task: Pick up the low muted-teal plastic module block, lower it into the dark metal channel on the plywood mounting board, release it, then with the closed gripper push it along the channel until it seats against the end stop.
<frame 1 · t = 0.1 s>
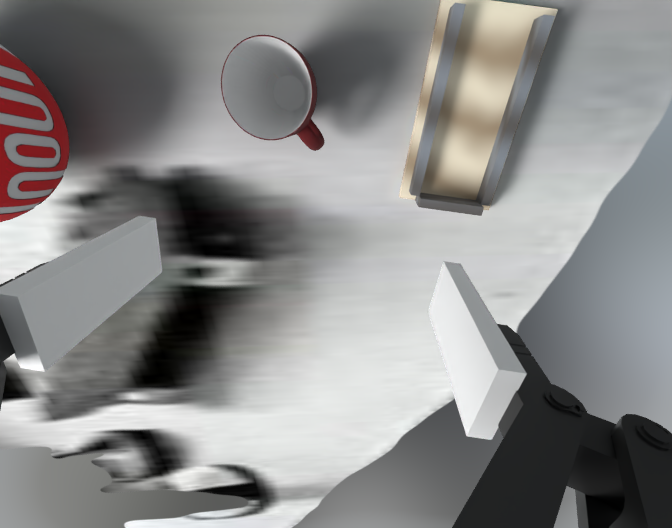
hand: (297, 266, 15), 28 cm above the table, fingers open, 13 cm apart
mug: (298, 102, 38), on the table
rail mount: (466, 115, 37), on the table
decorative sphere: (31, 119, 41), on the table
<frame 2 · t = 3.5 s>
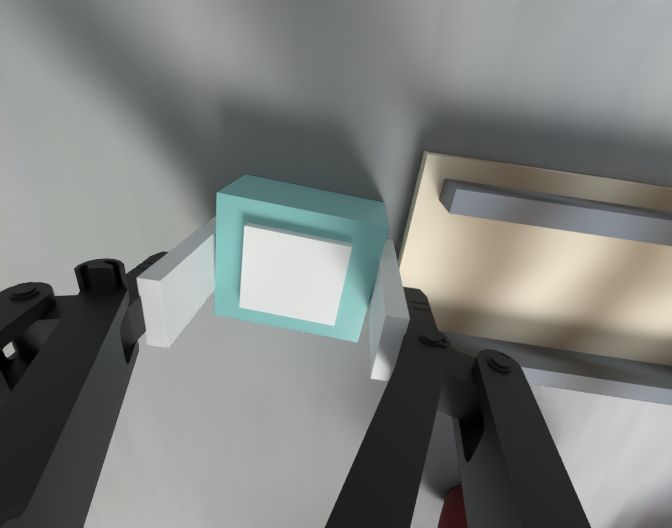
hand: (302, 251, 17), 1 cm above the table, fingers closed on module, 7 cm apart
module: (306, 243, 18), on the table, touching gripper
mug: (483, 489, 26), on the table
rail mount: (583, 285, 17), on the table
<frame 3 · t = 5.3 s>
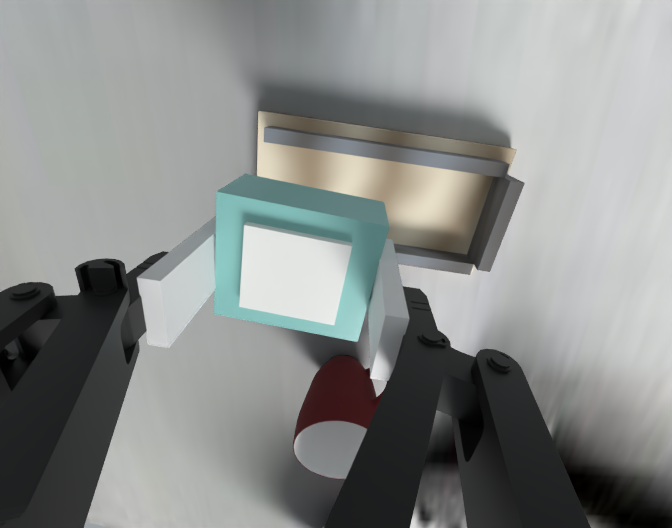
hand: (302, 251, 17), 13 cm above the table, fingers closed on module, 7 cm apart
module: (306, 242, 18), point 12 cm above the table, touching gripper
mug: (351, 361, 37), on the table
rail mount: (373, 197, 28), on the table
when the fingers open (3 cm above the table, at t = 7.5 s): module stays where it is, resting on rail mount.
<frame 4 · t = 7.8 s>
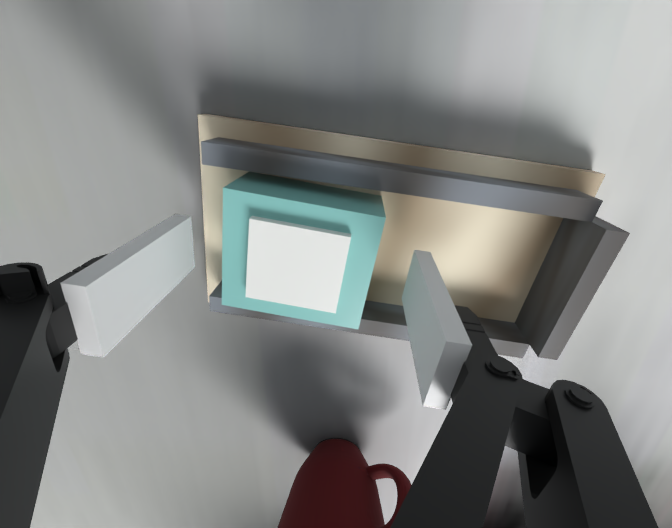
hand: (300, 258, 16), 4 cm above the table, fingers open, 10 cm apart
module: (308, 236, 18), point 1 cm above the table, touching rail mount
mug: (348, 444, 28), on the table
rail mount: (378, 240, 19), on the table
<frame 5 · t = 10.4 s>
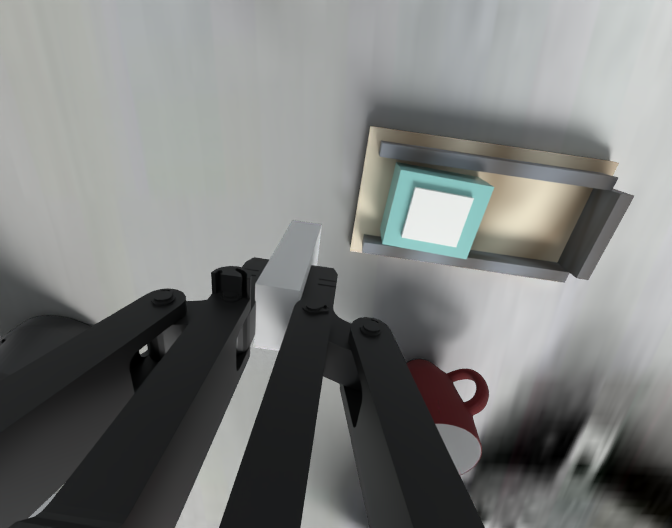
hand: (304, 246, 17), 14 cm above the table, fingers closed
module: (427, 204, 29), point 1 cm above the table, touching rail mount
mug: (426, 365, 38), on the table
rail mount: (469, 207, 29), on the table
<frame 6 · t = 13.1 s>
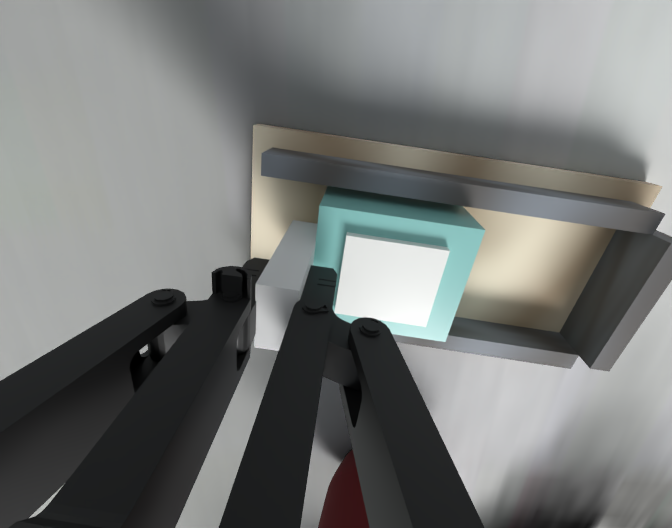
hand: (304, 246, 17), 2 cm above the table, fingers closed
module: (383, 248, 18), point 1 cm above the table, touching rail mount
mug: (379, 452, 28), on the table
rail mount: (424, 250, 19), on the table
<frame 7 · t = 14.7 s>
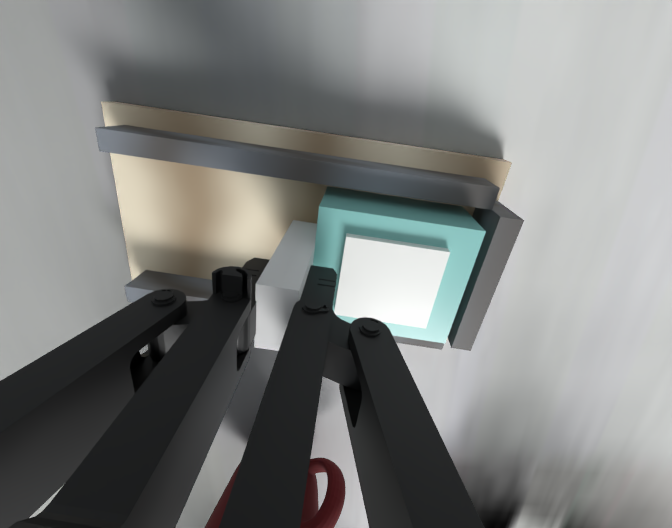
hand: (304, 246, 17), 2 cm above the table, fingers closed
module: (383, 249, 18), point 1 cm above the table, touching gripper, rail mount
mug: (293, 439, 28), on the table
rail mount: (299, 230, 19), on the table
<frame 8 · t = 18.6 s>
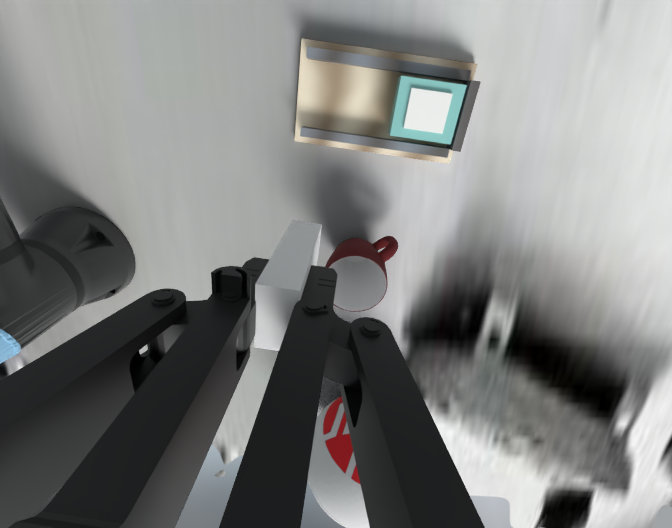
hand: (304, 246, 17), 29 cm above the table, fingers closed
module: (421, 110, 39), point 1 cm above the table, touching rail mount
mug: (362, 245, 49), on the table
rail mount: (379, 104, 40), on the table
decorative sphere: (364, 404, 64), on the table
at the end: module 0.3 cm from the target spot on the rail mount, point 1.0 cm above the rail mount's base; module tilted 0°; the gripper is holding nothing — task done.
